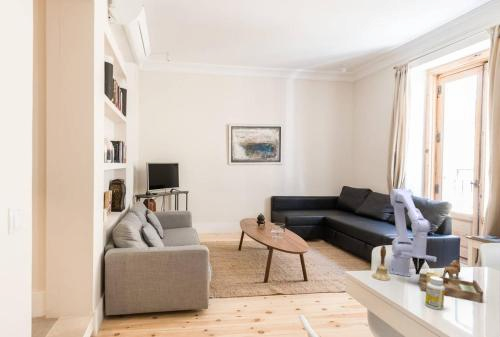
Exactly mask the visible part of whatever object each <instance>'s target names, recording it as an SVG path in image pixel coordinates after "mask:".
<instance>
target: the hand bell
mask: <svg viewBox="0 0 500 337" xmlns="http://www.w3.org/2000/svg"><path fill="white" fill-rule="evenodd" d="M379 252H380V264H379V265H377V266H376V267H377V268H376V271H375V272H374V273H373V274H372V276H371V277H372V278H373V279H376V280H379V281H384V282H385V281H386V282H387V281H389V282H390V281H391V277H390V276H389V274H388V268H387V266H386V265H385V258H386V255H387V249H386V246H385V245H382V246H381V247H380V251H379Z"/></svg>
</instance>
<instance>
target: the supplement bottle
mask: <svg viewBox="0 0 500 337" xmlns="http://www.w3.org/2000/svg"><path fill="white" fill-rule="evenodd" d="M442 284H443V279H442V278H439V277H435V276H431V277H430V282H429V283H427V289H426V292H425V305H426V307H428V308H430V309H434V310H442V309H443V308H444V302H445V295H444V292H445V287H444V286H443V285H442Z"/></svg>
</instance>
